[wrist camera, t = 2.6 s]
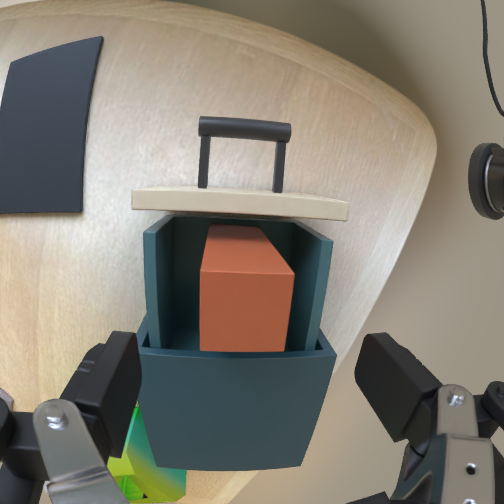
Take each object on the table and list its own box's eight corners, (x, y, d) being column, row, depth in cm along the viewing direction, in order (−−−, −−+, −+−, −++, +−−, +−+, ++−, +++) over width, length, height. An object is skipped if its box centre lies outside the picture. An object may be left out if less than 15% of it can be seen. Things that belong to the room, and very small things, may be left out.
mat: (13, 63, 17) (10, 62, 17) (103, 37, 19) (101, 35, 18) (-4, 213, 22) (-7, 213, 21) (82, 211, 23) (80, 212, 23)
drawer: (164, 128, 22) (137, 105, 14) (313, 139, 23) (355, 124, 15) (162, 327, 26) (145, 381, 18) (292, 330, 28) (316, 383, 20)
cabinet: (156, 292, 26) (127, 351, 16) (300, 297, 28) (337, 354, 18) (166, 401, 30) (156, 467, 20) (282, 403, 32) (300, 466, 22)
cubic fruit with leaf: (187, 444, 32) (184, 533, 18) (135, 454, 32) (121, 532, 18) (140, 396, 29) (115, 498, 15) (88, 410, 29) (55, 493, 15)
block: (209, 223, 23) (200, 270, 12) (258, 226, 24) (295, 273, 12) (208, 270, 24) (199, 351, 13) (254, 272, 25) (284, 351, 13)
